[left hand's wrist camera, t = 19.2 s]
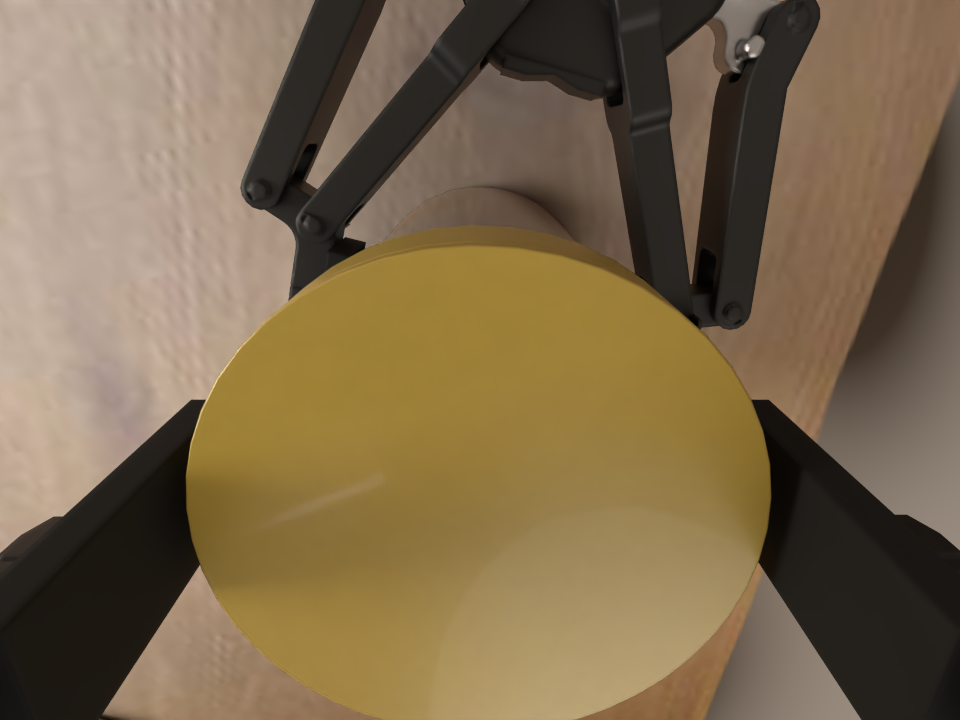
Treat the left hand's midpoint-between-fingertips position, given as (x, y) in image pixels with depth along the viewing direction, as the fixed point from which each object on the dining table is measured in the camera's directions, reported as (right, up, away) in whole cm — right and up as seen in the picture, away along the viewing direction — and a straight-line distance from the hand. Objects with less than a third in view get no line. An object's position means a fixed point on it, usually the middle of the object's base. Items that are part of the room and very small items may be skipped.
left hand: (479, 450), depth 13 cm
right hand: (-1, -1, +9) cm, 9 cm away
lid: (0, -1, -2) cm, 3 cm away
